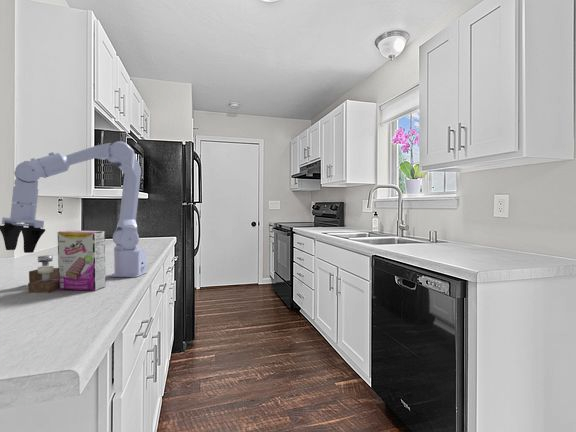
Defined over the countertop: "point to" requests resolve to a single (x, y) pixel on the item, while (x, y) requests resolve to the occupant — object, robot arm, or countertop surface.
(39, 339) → the countertop surface
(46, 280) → the cream knob
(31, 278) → the tall socket
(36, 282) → the low socket
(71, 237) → the candy bar box
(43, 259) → the steel knob
